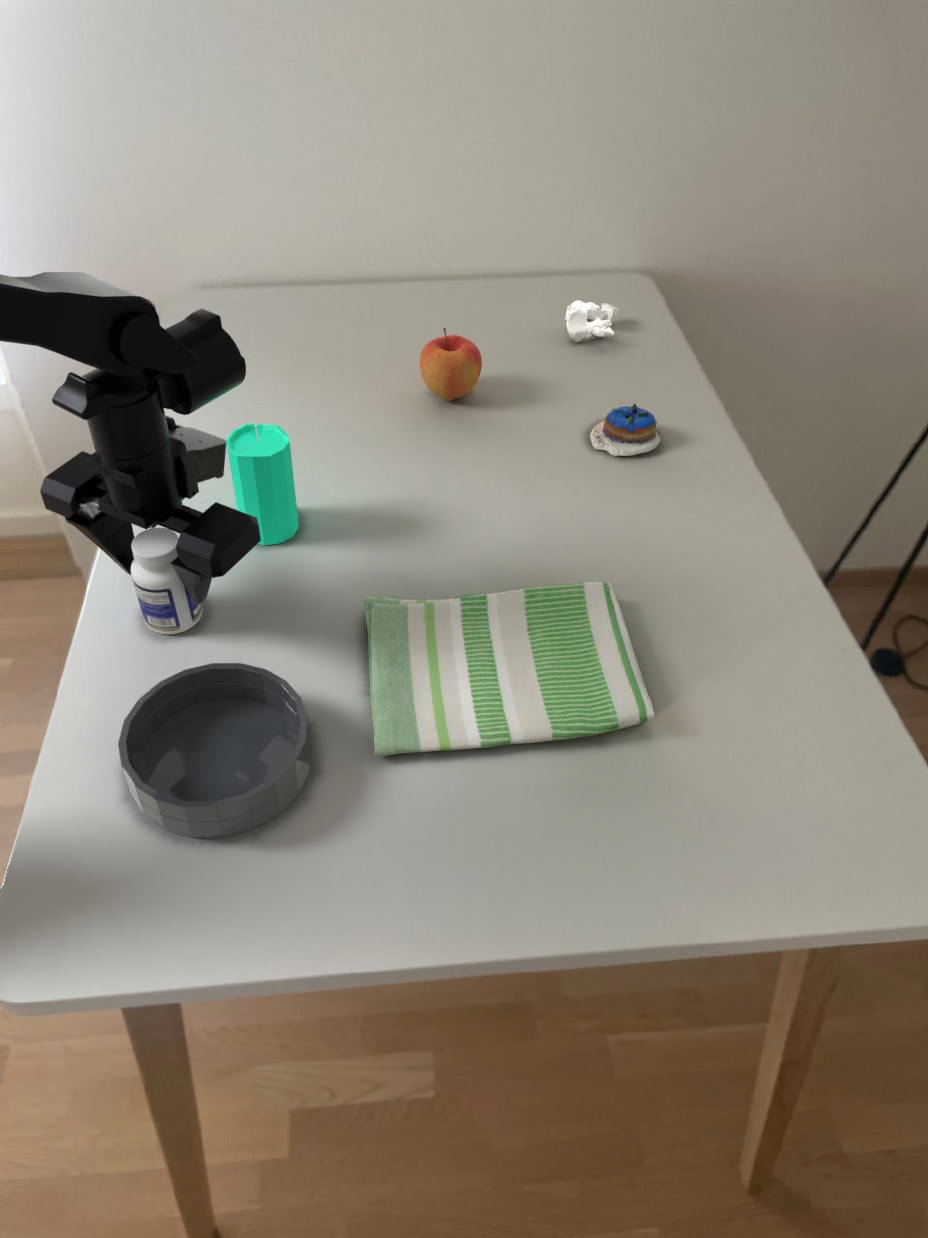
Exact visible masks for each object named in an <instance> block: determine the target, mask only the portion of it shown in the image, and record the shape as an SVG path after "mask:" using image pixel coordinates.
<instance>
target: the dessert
mask: <svg viewBox="0 0 928 1238" xmlns="http://www.w3.org/2000/svg"><path fill="white" fill-rule="evenodd" d="M657 422H658V420H656V418H655V416H654V414H653V413H652V412H650V411H648V410H647V409H645V408H640V407H639V406H637V404H636V403H635V402H634V403H633V404H632V405H631V406H629V405H625V406H618V407H616V408H612V409H611V410H610V412H608V414H606V416H605V417H604V419H603V420H602V421H601V422H599V423H598V424H596V425H595V426H594V427H593V428H592V430H591V431H590V434H589V438H590V442H591V445H592V447H593V448H594V449H595V450H600V451H606V452H607V453H608V454H610V455H611V456H613V457H616V456H617V457H619V456H621V457H624V456H625V457H629V456H635V455H639V454H644V453H649V452H650V451H653V450H654V449H656V447H658V446H659V444H660V443H661V437H660V435H659V434H658V433H657V424H658V423H657Z"/></svg>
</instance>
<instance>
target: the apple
mask: <svg viewBox="0 0 928 1238" xmlns="http://www.w3.org/2000/svg"><path fill="white" fill-rule="evenodd" d="M442 329H443V332H444V335H443V336H440V337H436V338H434V339H432V340H430V341H428V342H427V343H426V344H425V345H424V346H423V347H422V350H421V351H420V356H419V370H420V371H419V372H420V374H421V377H422V380H423V382H424V384H425V386H426V387H427V388H428V389H429V391H431V392H432V393H433V394H435V395H437V396H438V397H440V398H442V399H444V400H445V401H447V402H451V401H453V400H455V399H457V398H460V397H462V396H466V395H467V394H468V393H469V392H471V391H472V390H473V389H474V388H475V386H476V384H477V383H478V381H479V378H480V375H481V373H482V367H483V360H482V354H481V351H480V349H479V347H478V346H477V345H476V344H475V343H474V342H473V341H472V340H470V339H468V338H466V337H464V336H461V335H457V334H447V328H446V327H443V328H442Z"/></svg>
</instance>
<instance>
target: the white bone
mask: <svg viewBox="0 0 928 1238" xmlns="http://www.w3.org/2000/svg"><path fill="white" fill-rule="evenodd" d="M618 313H619V308H618V307H616V306H614V305H612V304H611V303H606V302H603V303H601V304H600V306H599V305H597V304H595V303H594V302H591V301H589V302H583V301H582V300H575V301H574V302H572V303H570V305H569V304H568V305H567V308H566V314H565V318H564V322H566V328H567V332H568V334H569V336H570V338H571V339H572V340H573V341H575V342H576V343H580V342H582V340H583V339H585V338H587V339H589V338H590V337H592V336H596V337H598V338H605V337H607V338H608V337H609V338H614V336H615V331H614V330H612V325H613V323H612V318H613V315H614V316H618ZM604 316H607V319H603V318H604ZM588 319H589V320H590V322H589V321H588ZM602 319H603V320H602ZM591 320H592V321H591Z"/></svg>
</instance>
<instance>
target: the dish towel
mask: <svg viewBox="0 0 928 1238" xmlns="http://www.w3.org/2000/svg"><path fill="white" fill-rule="evenodd" d="M363 611H364V616H365V624H366V630H367V647H368V671H369V672H368V673H369V691H370V693H369V694H370V705H371V706H370V707H371V716H372V717H371V718H372V730H373V745H374V746H373V747H374V756H376V757H378V756H379V757H380V756H381V757H386V756H392V755H393V756H394V755H398V754H408V753H409V754H410V753H425V752H436V751H437V752H439V751H440V752H442V751H443V752H444V751H457V750H458V751H459V750H470V749H471V750H472V749H483V748H493V747H494V748H495V747H500V746H505V745H507V746H508V745H514V744H515V745H516V744H517V745H518V744H521V745H522V744H532V743H533V744H535V743H543V742H555V741H557V742H558V741H565V740H571V739H577V738H584V737H592V736H598V735H599V736H600V735H602V734H605V733H611V732H614V731H618V730H620V729H624V728H628V727H632V726H633V727H634V726H636V725H641V724H644V723H647V722H649V721H650V720H652V719H654V718H655V717H656V715H655V710H654V707H653V703H652V700H651V697H650V696H649V693H648V690H647V687H646V684H645V681H644V677H643V675H642V672H641V668H640V665H639V663H638V659H637V656H636V653H635V650H634V647H633V643H632V641H631V637H630V634H629V631H628V628H627V625H626V621H625V619H624V616H623V612H622V609H621V605H620V603H619V601H618V599H617V596H616V593H615V591H614V589H613V585H612V584H611V582H600V581H588V582H578V583H577V582H576V583H565V584H552V585H544V586H535V587H526V588H522V589H521V588H520V589H514V590H507V591H501V592H494V593H486V594H482V593H476V594H465V595H461V596H456V597H453V598H446V599H445V598H444V599H400V598H393V597H385V596H367V597H365V598H364V600H363Z"/></svg>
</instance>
